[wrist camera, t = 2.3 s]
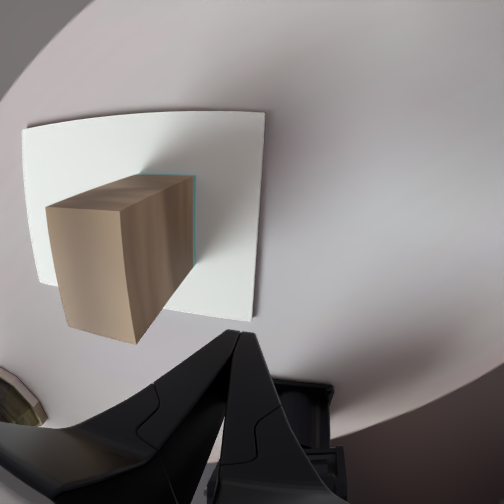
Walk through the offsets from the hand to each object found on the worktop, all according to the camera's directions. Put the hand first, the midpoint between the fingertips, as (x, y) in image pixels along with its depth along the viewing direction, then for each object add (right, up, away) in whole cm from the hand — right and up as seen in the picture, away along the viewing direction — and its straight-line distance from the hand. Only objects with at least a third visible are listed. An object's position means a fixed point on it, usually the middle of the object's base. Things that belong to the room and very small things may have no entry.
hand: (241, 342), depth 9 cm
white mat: (-9, +5, +12) cm, 16 cm away
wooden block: (-5, +5, +11) cm, 13 cm away
